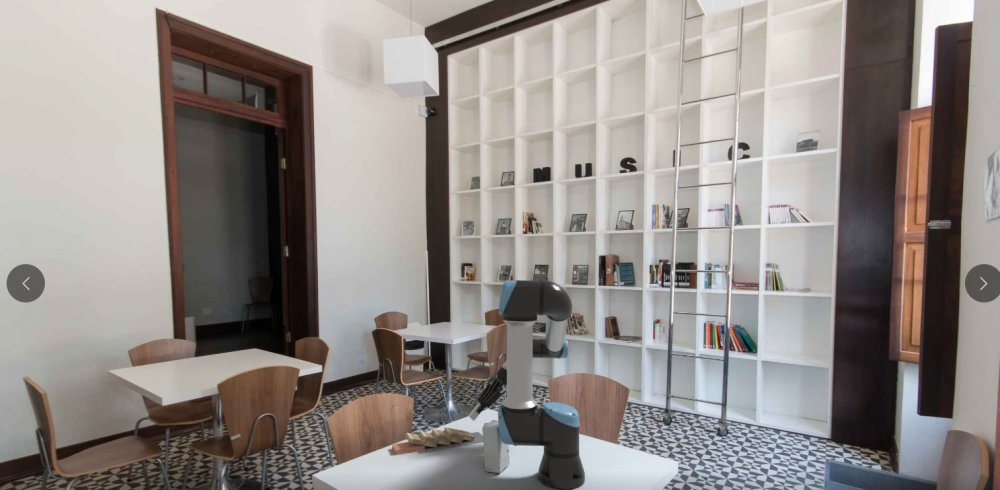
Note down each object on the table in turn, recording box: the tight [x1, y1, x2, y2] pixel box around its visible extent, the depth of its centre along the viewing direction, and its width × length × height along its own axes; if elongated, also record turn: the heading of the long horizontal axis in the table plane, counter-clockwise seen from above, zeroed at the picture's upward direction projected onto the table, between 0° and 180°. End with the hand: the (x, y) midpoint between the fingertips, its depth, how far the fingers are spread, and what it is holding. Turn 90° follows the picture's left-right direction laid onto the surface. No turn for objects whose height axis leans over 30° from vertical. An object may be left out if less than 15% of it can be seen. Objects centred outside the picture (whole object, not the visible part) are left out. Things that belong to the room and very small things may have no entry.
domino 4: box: [431, 428, 463, 443], centre depth 173 cm, size 2×6×11 cm
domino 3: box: [418, 430, 451, 445], centre depth 171 cm, size 2×6×11 cm
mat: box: [417, 431, 483, 454], centre depth 174 cm, size 28×11×1 cm, turn 115°
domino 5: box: [443, 426, 475, 441], centre depth 175 cm, size 2×6×11 cm
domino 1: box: [391, 441, 425, 456], centre depth 166 cm, size 2×6×11 cm
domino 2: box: [405, 432, 437, 447], centre depth 169 cm, size 2×6×11 cm
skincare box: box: [481, 419, 510, 474], centre depth 152 cm, size 8×6×15 cm
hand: (471, 418), depth 177 cm, fingers closed
